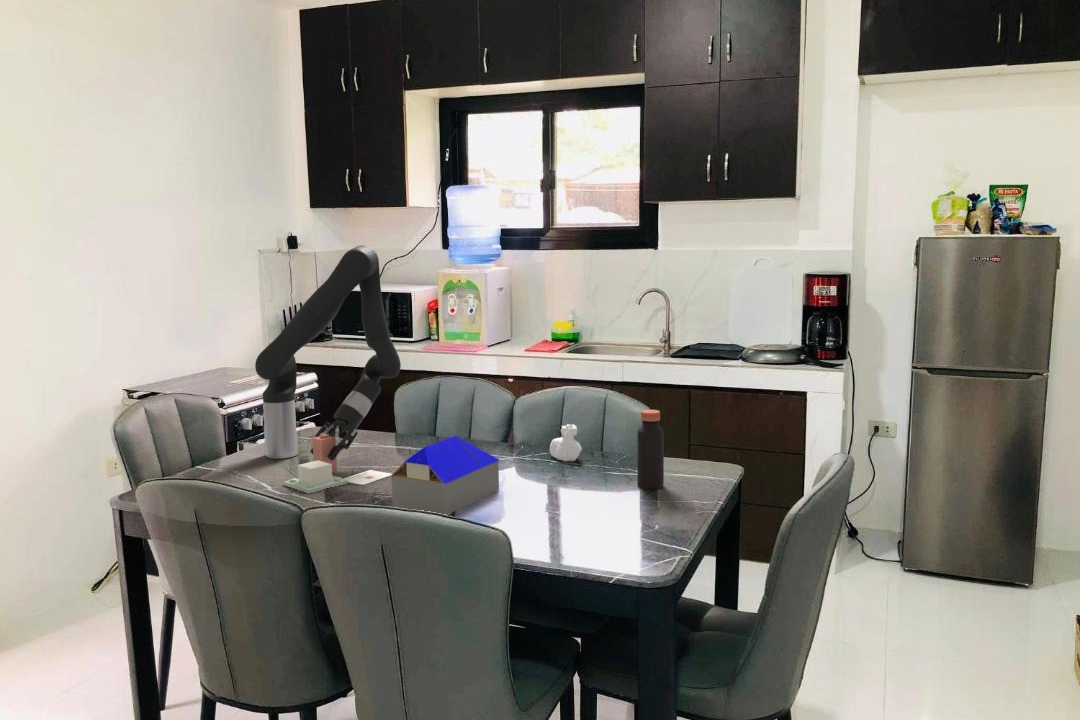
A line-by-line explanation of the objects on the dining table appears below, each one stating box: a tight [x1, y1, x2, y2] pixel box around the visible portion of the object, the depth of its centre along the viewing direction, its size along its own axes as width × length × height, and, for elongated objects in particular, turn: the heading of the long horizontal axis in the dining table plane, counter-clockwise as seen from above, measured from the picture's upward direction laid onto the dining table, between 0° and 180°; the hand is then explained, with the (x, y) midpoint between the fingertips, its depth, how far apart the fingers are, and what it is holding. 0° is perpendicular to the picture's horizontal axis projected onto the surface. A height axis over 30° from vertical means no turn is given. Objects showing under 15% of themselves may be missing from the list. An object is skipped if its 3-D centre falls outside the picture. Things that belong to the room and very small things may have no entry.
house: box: [389, 435, 501, 516], centre depth 216 cm, size 25×16×16 cm, turn 151°
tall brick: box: [312, 433, 338, 473], centre depth 244 cm, size 5×5×11 cm
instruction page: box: [343, 469, 393, 486], centre depth 238 cm, size 9×12×1 cm
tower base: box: [283, 460, 348, 494], centre depth 231 cm, size 12×12×6 cm
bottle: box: [636, 409, 665, 491], centre depth 223 cm, size 7×7×20 cm
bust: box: [549, 423, 583, 462], centre depth 255 cm, size 12×8×11 cm
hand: (321, 456), depth 243 cm, fingers open, 8 cm apart
